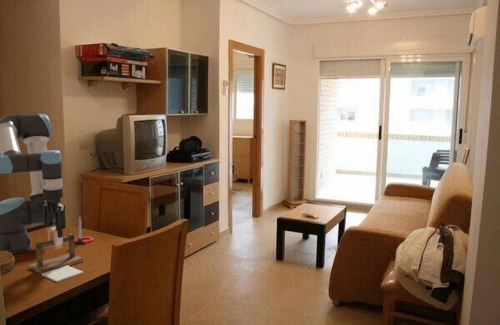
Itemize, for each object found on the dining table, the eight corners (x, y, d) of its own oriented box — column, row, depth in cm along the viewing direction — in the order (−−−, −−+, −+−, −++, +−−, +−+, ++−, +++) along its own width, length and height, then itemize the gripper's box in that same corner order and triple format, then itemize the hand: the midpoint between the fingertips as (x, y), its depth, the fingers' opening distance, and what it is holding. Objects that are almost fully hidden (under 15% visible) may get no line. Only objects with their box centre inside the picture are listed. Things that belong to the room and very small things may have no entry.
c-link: (49, 246, 179) (48, 228, 178) (55, 245, 182) (55, 226, 181) (55, 249, 177) (54, 230, 175) (62, 247, 179) (61, 229, 178)
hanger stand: (29, 268, 176) (27, 241, 174) (70, 256, 190) (68, 230, 188) (42, 274, 170) (40, 246, 168) (83, 261, 184) (82, 235, 183)
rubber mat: (41, 275, 169) (41, 273, 169) (67, 266, 178) (67, 265, 178) (56, 282, 163) (56, 280, 163) (83, 273, 172) (83, 271, 171)
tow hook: (81, 238, 216) (70, 243, 207) (80, 213, 215) (70, 217, 206) (96, 239, 215) (87, 244, 206) (96, 214, 214) (86, 218, 205)
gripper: (32, 186, 178) (35, 241, 181) (56, 193, 167) (58, 250, 171) (49, 184, 184) (52, 236, 187) (73, 189, 173) (76, 245, 177)
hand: (55, 243), depth 179 cm, fingers closed on c-link, 5 cm apart
